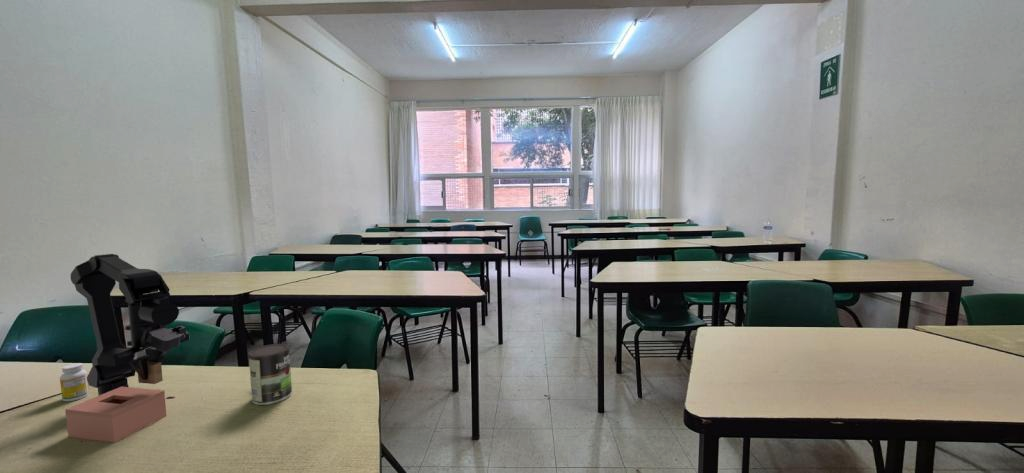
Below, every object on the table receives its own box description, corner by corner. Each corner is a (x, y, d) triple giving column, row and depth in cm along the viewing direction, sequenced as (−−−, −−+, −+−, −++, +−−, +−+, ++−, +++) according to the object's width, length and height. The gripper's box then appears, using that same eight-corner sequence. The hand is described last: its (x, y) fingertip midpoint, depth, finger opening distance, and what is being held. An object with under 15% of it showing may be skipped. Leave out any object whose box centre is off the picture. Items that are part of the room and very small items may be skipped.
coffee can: (299, 388, 122) (297, 343, 121) (278, 405, 112) (275, 356, 110) (266, 388, 122) (263, 343, 121) (242, 405, 112) (239, 356, 111)
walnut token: (138, 382, 105) (136, 364, 104) (146, 379, 107) (145, 361, 106) (154, 384, 104) (153, 365, 104) (162, 380, 106) (161, 362, 106)
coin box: (68, 436, 98) (65, 409, 97) (124, 411, 109) (121, 386, 109) (114, 442, 95) (111, 414, 94) (166, 415, 107) (164, 390, 106)
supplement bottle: (82, 399, 116) (79, 367, 115) (57, 403, 114) (53, 370, 113) (93, 391, 121) (89, 360, 120) (69, 395, 119) (65, 363, 118)
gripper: (132, 333, 93) (137, 397, 95) (204, 311, 112) (208, 365, 113) (92, 331, 95) (98, 394, 97) (170, 309, 114) (174, 362, 115)
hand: (149, 377), depth 105 cm, fingers closed on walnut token, 2 cm apart
